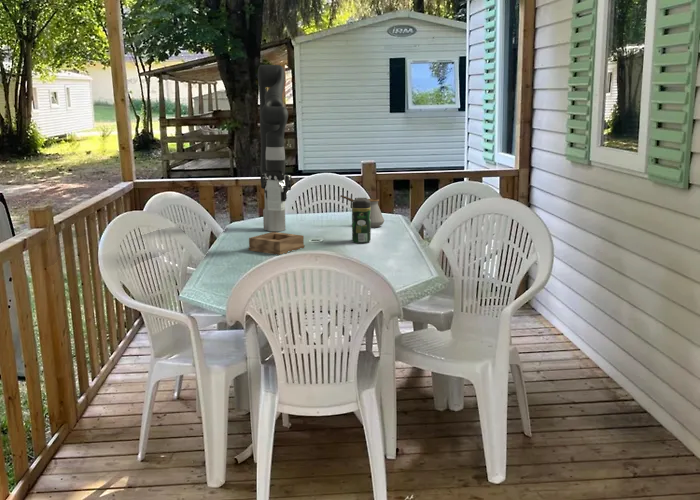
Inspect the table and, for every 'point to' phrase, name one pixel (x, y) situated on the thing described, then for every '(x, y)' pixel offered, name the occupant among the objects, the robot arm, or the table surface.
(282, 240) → the holder
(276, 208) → the skincare box
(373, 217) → the coffee pot
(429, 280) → the table surface
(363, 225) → the coffee jar
